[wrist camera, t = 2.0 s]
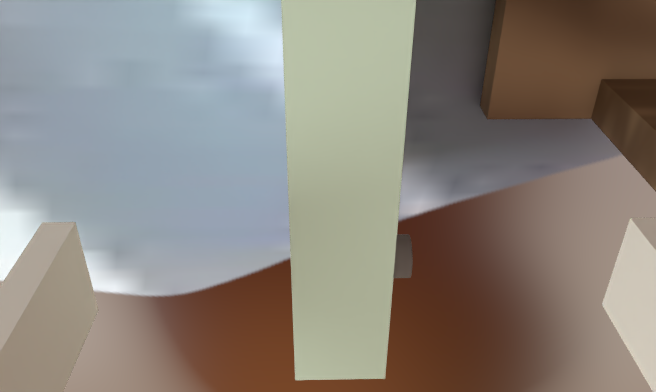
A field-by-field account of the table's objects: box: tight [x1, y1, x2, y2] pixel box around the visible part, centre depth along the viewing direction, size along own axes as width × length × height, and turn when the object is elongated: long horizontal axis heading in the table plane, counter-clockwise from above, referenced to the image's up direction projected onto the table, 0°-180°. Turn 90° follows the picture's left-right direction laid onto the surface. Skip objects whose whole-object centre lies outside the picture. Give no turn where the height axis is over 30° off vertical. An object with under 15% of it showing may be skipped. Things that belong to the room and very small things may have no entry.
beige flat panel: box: [281, 0, 416, 380], centre depth 22 cm, size 14×4×14 cm, turn 0°
